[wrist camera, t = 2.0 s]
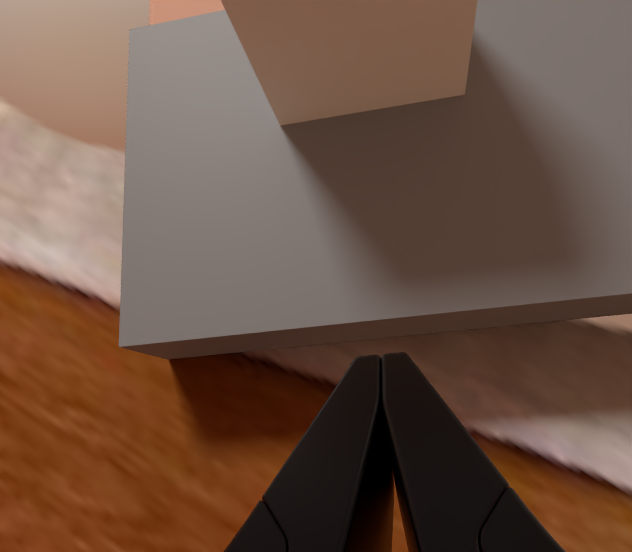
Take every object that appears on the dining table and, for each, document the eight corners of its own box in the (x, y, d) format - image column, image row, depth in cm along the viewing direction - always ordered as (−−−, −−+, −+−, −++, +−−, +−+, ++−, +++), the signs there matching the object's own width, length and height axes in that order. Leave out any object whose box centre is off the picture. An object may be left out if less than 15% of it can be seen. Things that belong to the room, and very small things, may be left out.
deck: (664, 310, 20) (721, 283, 16) (167, 359, 23) (118, 346, 19) (586, 6, 24) (617, -73, 20) (170, 84, 27) (129, 29, 23)
